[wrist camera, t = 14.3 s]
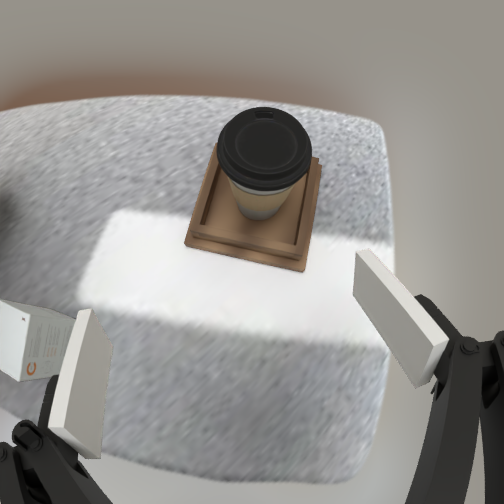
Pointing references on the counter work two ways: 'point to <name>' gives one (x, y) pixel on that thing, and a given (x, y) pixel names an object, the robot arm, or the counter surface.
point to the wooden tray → (254, 221)
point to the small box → (32, 340)
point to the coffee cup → (263, 159)
